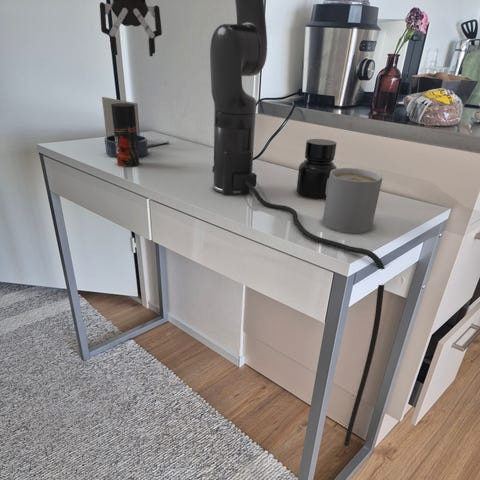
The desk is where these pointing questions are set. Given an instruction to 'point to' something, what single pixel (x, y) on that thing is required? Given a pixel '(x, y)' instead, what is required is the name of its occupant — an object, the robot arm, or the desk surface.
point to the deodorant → (125, 134)
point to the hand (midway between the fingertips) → (133, 55)
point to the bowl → (112, 147)
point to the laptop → (109, 120)
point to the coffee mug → (351, 200)
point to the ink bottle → (316, 168)
